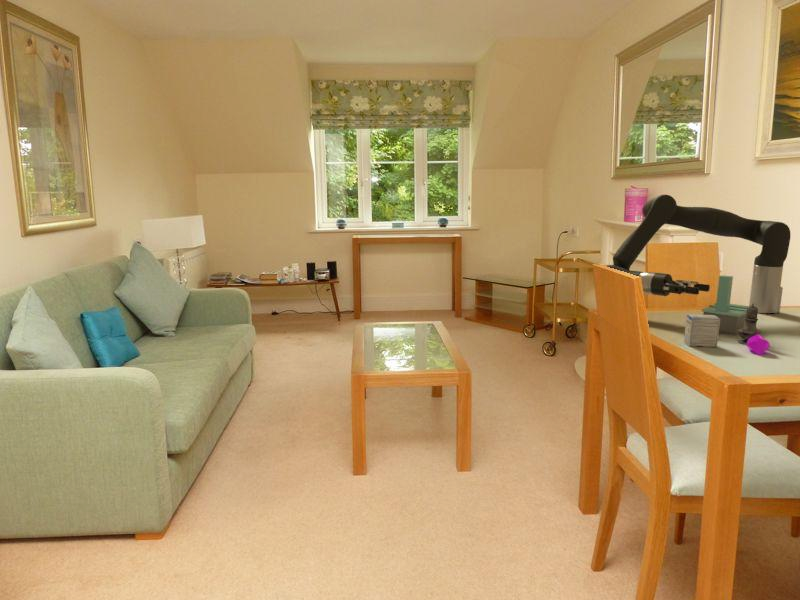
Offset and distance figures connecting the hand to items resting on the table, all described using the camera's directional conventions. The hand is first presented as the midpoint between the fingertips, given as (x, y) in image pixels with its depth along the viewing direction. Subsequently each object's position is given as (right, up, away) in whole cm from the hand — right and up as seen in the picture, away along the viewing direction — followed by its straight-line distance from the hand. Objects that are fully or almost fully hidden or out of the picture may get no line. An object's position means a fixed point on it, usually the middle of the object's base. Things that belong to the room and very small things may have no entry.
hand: (704, 289), depth 199 cm
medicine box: (-11, -17, -19) cm, 27 cm away
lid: (+9, -7, +1) cm, 11 cm away
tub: (+9, -13, +2) cm, 15 cm away
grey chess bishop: (+5, -16, -16) cm, 23 cm away
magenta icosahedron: (+2, -18, -26) cm, 32 cm away
